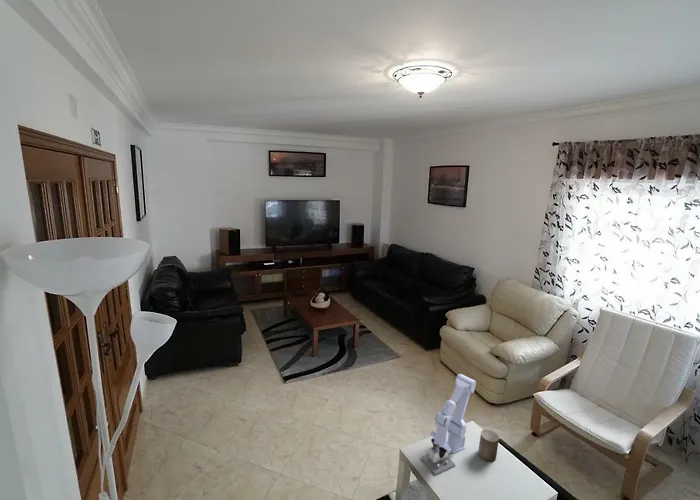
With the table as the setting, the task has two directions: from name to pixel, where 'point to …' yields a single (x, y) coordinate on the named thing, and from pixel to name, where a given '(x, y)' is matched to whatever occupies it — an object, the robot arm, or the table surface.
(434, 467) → the pin tray
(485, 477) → the table surface
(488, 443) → the pillar candle
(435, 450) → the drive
